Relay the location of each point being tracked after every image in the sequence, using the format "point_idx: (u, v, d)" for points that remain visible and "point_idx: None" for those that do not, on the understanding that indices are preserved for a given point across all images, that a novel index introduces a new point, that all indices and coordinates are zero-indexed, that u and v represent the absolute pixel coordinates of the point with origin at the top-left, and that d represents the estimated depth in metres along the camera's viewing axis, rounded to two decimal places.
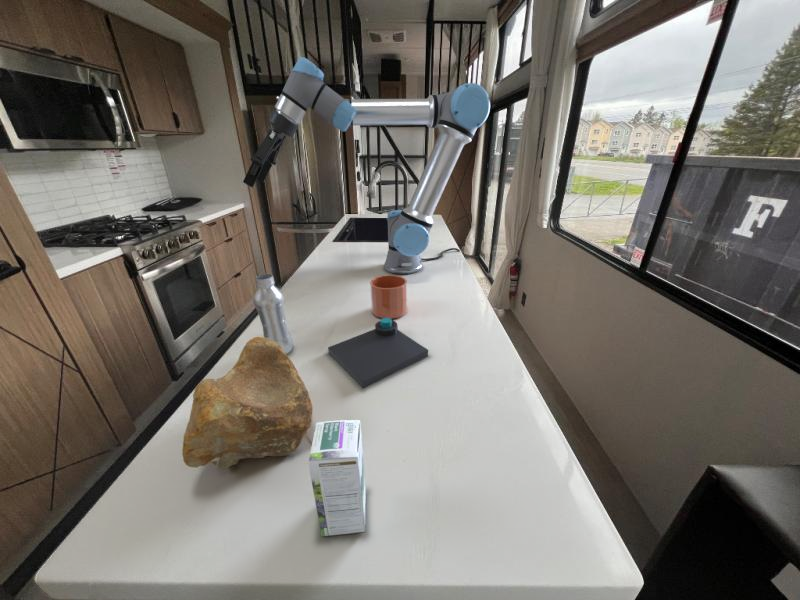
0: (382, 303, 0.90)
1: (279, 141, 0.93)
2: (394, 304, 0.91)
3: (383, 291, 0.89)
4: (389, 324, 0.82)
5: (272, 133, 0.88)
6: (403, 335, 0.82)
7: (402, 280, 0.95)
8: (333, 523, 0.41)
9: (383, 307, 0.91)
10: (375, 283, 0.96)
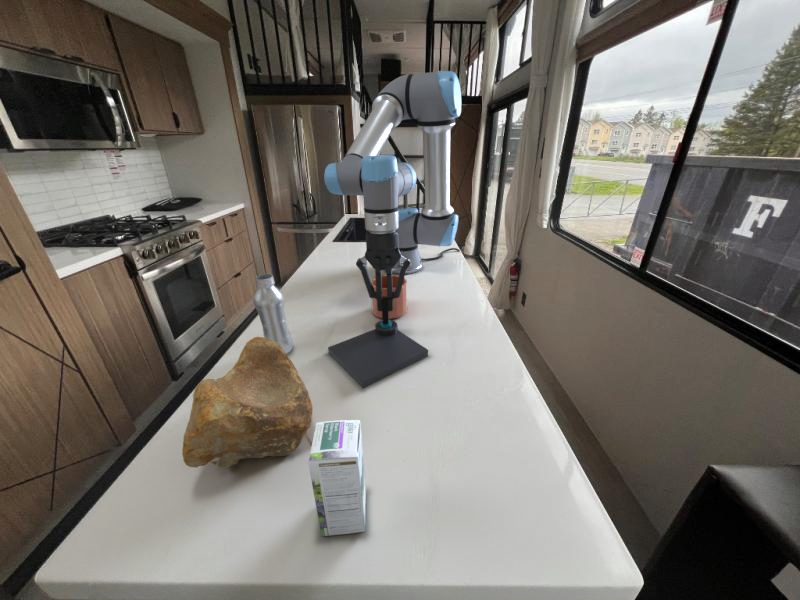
0: None
1: None
2: (394, 304, 0.91)
3: (383, 291, 0.89)
4: (389, 326, 0.83)
5: None
6: (403, 335, 0.82)
7: None
8: (333, 523, 0.41)
9: None
10: (375, 283, 0.96)
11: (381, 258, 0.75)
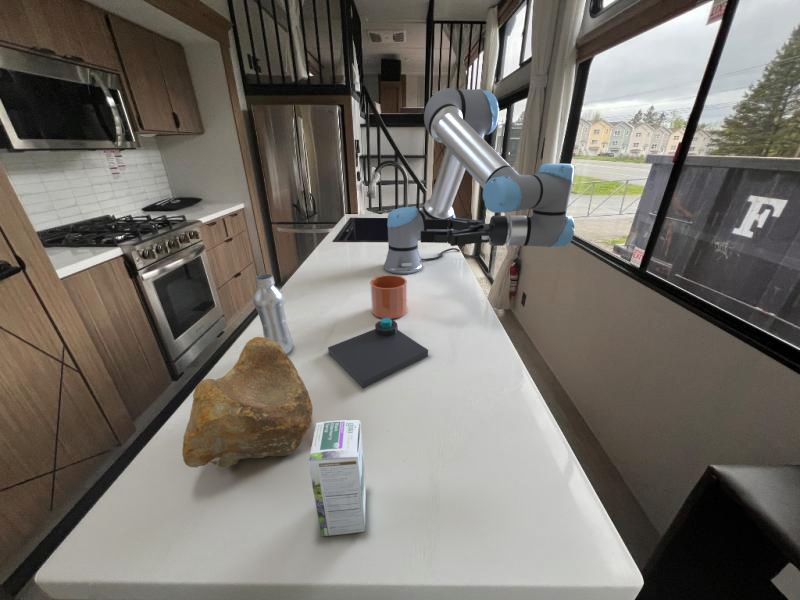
0: (382, 303, 0.90)
1: None
2: (394, 304, 0.91)
3: (383, 291, 0.89)
4: (389, 324, 0.82)
5: None
6: (403, 335, 0.82)
7: (402, 280, 0.95)
8: (333, 523, 0.41)
9: (383, 307, 0.91)
10: (375, 283, 0.96)
11: None
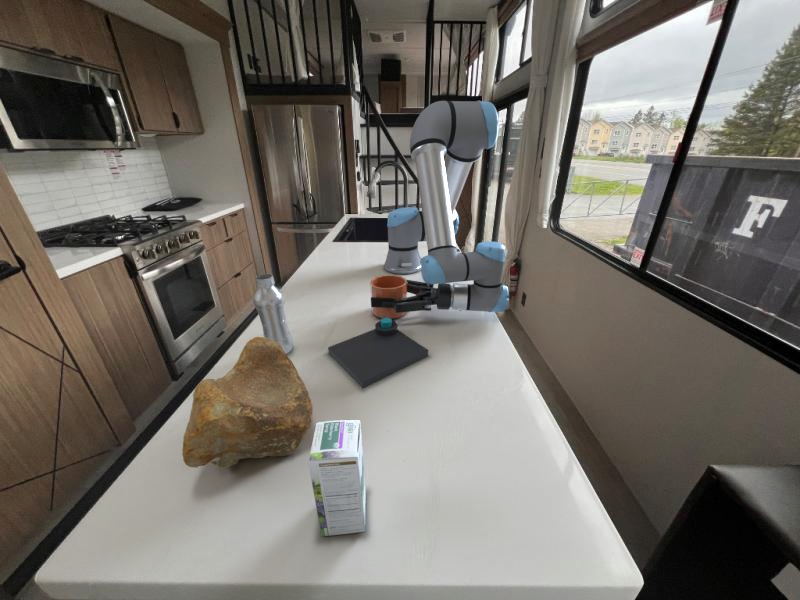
0: None
1: None
2: None
3: (383, 291, 0.89)
4: (389, 324, 0.82)
5: None
6: (403, 335, 0.82)
7: (402, 280, 0.95)
8: (333, 523, 0.41)
9: None
10: (375, 283, 0.96)
11: None
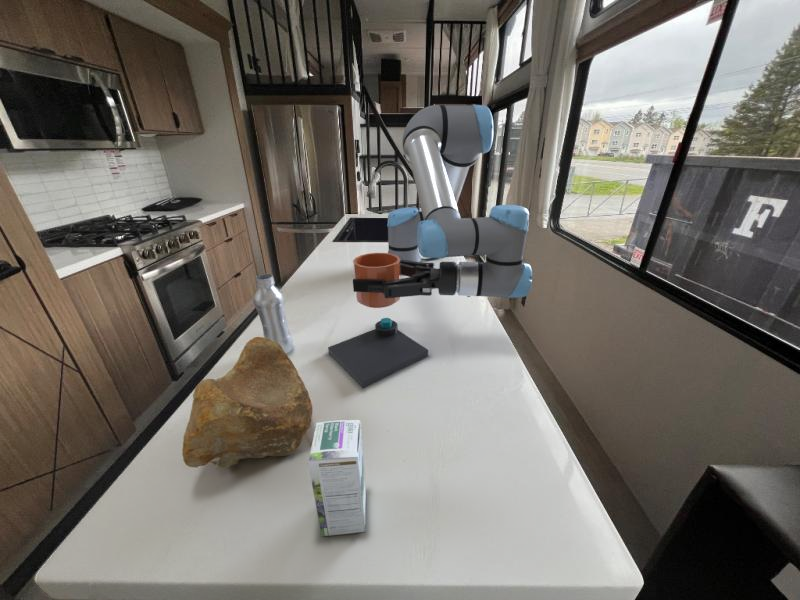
0: None
1: None
2: None
3: (369, 271, 0.68)
4: (389, 324, 0.82)
5: None
6: (403, 335, 0.82)
7: (394, 258, 0.75)
8: (333, 523, 0.41)
9: (369, 292, 0.71)
10: (360, 262, 0.75)
11: None
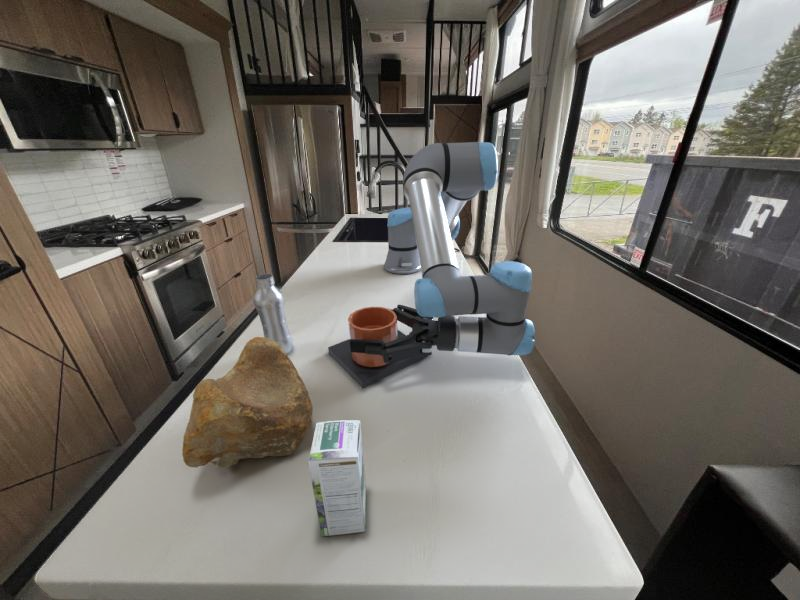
0: None
1: None
2: None
3: (364, 333, 0.66)
4: None
5: None
6: (403, 335, 0.82)
7: (391, 314, 0.72)
8: (333, 523, 0.41)
9: (365, 353, 0.68)
10: (355, 318, 0.73)
11: None
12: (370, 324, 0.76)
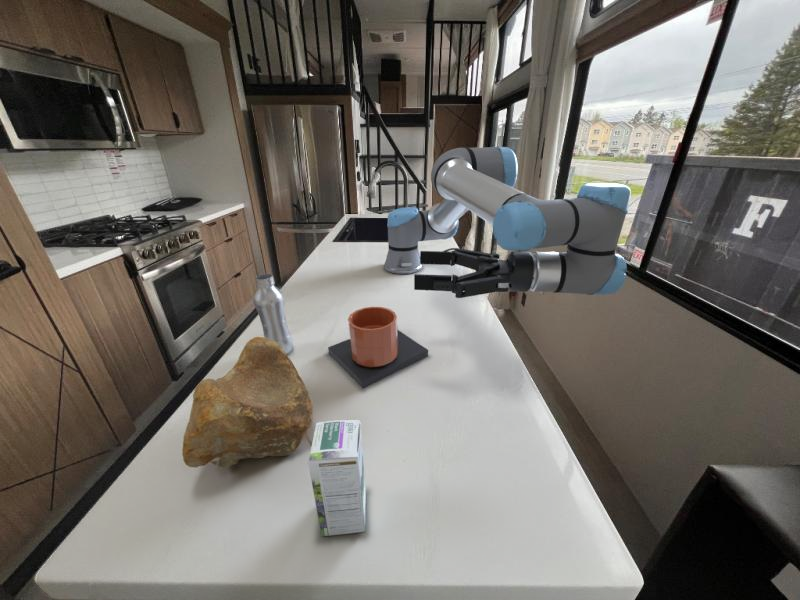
0: (363, 348, 0.67)
1: None
2: (379, 349, 0.68)
3: (364, 333, 0.66)
4: None
5: None
6: (403, 335, 0.82)
7: (391, 314, 0.72)
8: (333, 523, 0.41)
9: (365, 353, 0.68)
10: (355, 318, 0.73)
11: None
12: (370, 324, 0.76)
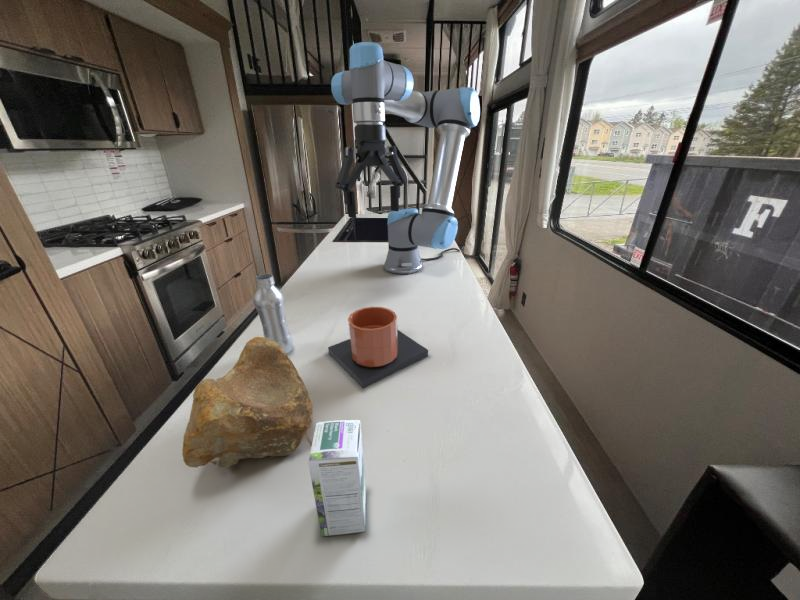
0: (363, 348, 0.67)
1: None
2: (379, 349, 0.68)
3: (364, 333, 0.66)
4: None
5: None
6: (403, 335, 0.82)
7: (391, 314, 0.72)
8: (333, 523, 0.41)
9: (365, 353, 0.68)
10: (355, 318, 0.73)
11: None
12: (370, 324, 0.76)
